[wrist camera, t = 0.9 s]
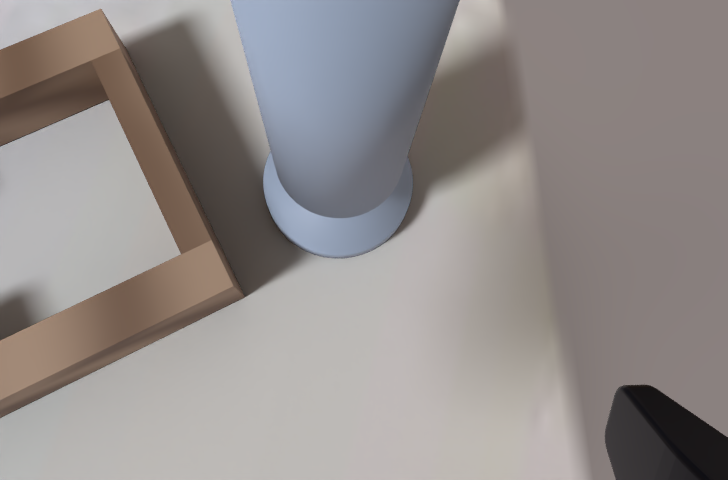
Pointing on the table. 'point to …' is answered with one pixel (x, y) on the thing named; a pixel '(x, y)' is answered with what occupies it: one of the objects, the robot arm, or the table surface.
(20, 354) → the keyhole block
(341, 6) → the slate peg
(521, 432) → the table surface
